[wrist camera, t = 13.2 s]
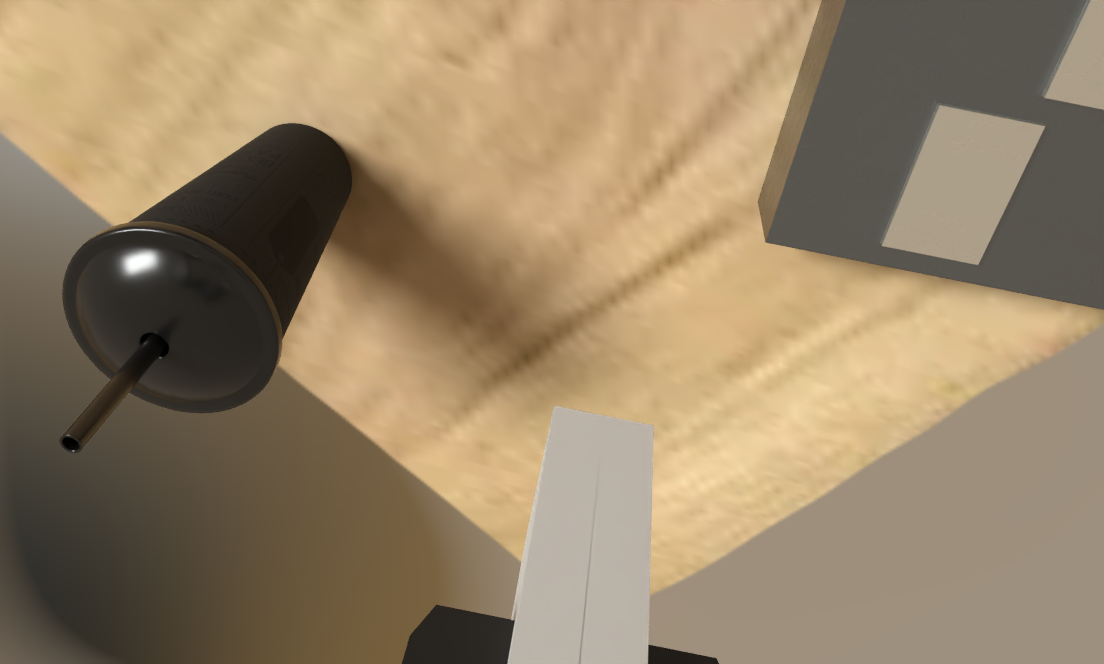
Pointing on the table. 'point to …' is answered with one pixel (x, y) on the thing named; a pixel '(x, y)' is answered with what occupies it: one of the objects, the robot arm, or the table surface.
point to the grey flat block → (950, 143)
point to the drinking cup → (206, 279)
